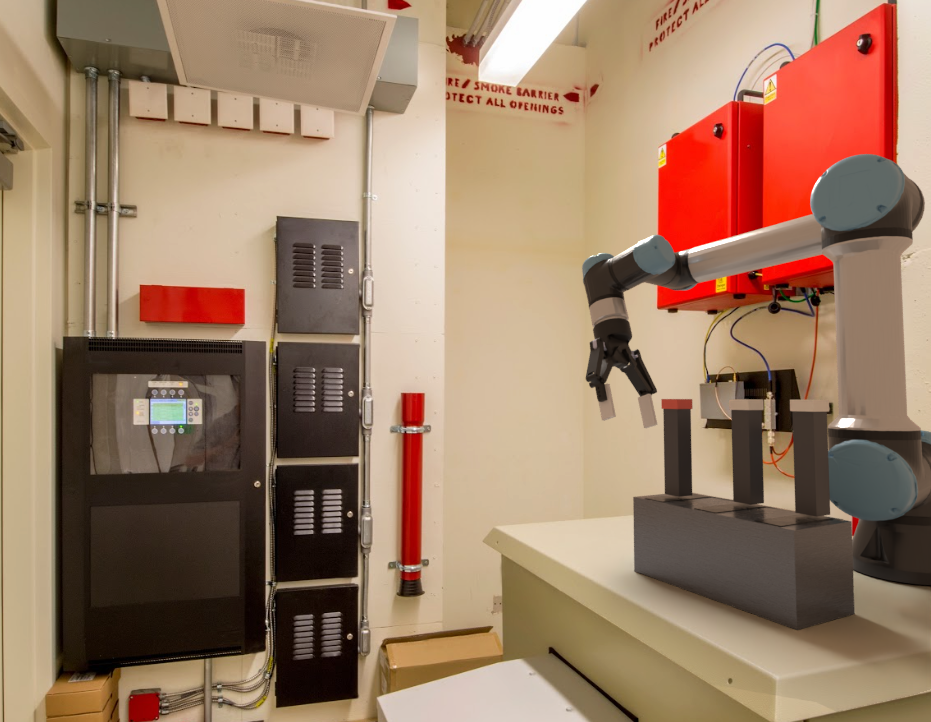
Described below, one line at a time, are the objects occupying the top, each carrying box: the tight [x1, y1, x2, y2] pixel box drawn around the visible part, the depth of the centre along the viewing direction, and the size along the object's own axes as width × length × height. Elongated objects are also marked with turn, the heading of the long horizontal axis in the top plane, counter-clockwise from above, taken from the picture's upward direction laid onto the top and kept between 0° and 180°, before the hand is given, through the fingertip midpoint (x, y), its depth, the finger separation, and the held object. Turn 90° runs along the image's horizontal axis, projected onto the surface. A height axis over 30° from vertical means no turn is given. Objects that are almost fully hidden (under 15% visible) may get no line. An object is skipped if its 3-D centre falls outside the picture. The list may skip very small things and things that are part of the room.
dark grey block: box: [632, 492, 856, 631], centre depth 89 cm, size 28×12×12 cm, turn 28°
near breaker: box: [789, 399, 831, 517], centre depth 83 cm, size 3×3×16 cm
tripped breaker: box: [660, 398, 693, 497], centre depth 99 cm, size 3×3×16 cm
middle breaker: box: [728, 398, 765, 505], centre depth 92 cm, size 3×3×16 cm
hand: (630, 422), depth 117 cm, fingers open, 13 cm apart
